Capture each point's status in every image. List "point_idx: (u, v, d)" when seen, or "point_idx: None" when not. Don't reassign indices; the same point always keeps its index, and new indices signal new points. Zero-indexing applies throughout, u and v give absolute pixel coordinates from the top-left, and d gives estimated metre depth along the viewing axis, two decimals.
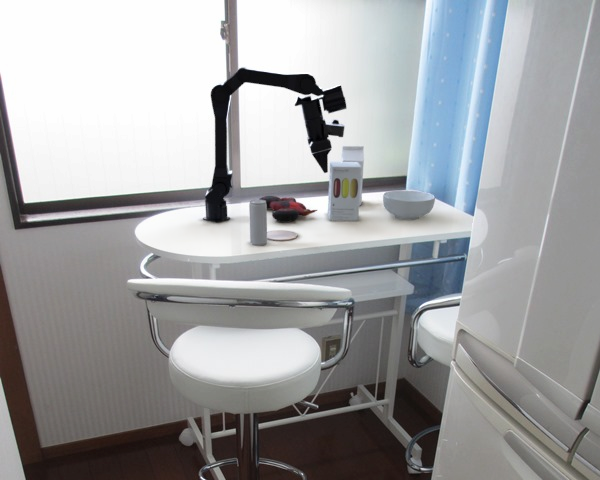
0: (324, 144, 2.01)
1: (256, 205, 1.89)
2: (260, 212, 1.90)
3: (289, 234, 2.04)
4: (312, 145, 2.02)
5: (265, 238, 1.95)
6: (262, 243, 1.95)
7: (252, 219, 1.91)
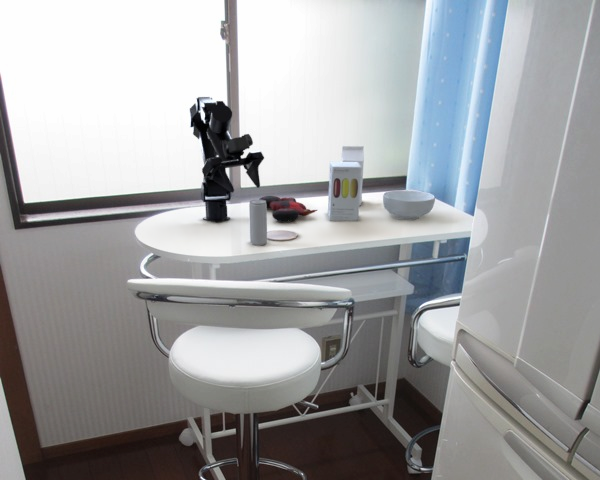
0: (207, 164, 1.90)
1: (256, 205, 1.89)
2: (260, 212, 1.90)
3: (289, 234, 2.04)
4: None
5: (265, 238, 1.95)
6: (262, 243, 1.95)
7: (252, 219, 1.91)
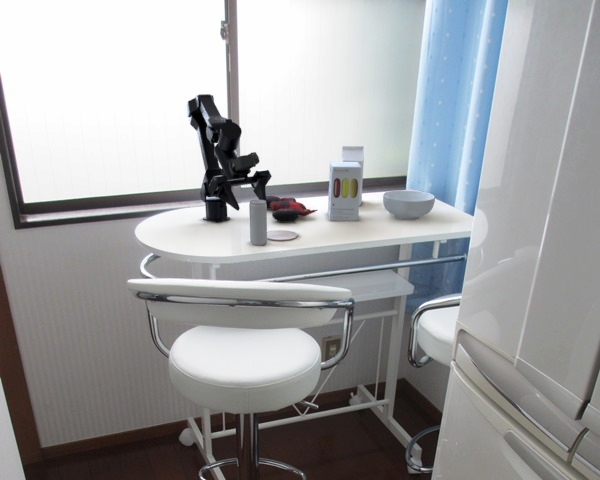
0: (212, 182, 1.89)
1: (256, 205, 1.89)
2: (260, 212, 1.90)
3: (289, 234, 2.04)
4: None
5: (265, 238, 1.95)
6: (262, 243, 1.95)
7: (252, 219, 1.91)
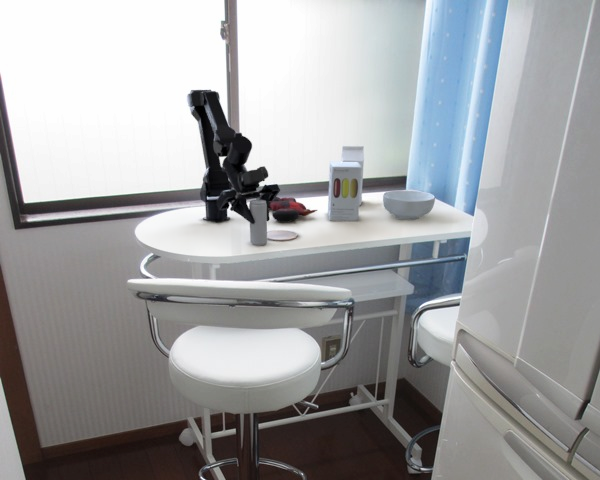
0: (221, 196, 1.88)
1: (256, 205, 1.89)
2: (260, 212, 1.90)
3: (289, 234, 2.04)
4: None
5: (265, 238, 1.95)
6: (262, 243, 1.95)
7: None
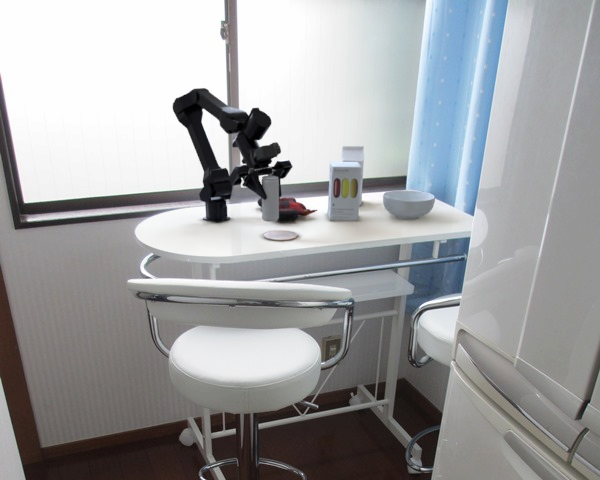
0: (234, 171, 1.89)
1: (268, 181, 1.91)
2: (272, 188, 1.91)
3: (289, 234, 2.04)
4: None
5: (277, 214, 1.96)
6: (274, 219, 1.96)
7: None
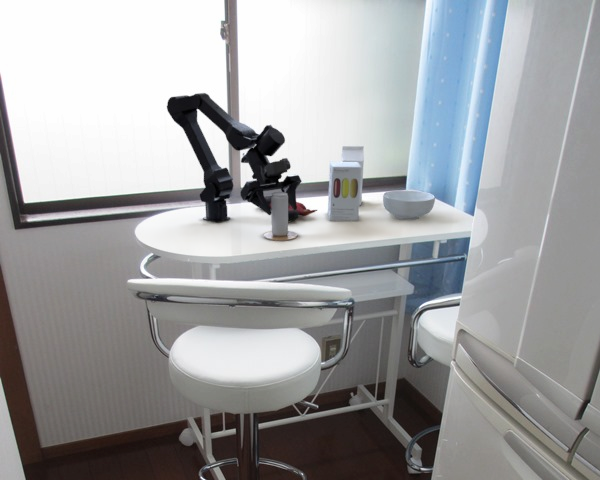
0: (245, 187, 1.94)
1: (278, 197, 1.96)
2: (282, 204, 1.97)
3: (289, 234, 2.04)
4: None
5: (286, 229, 2.02)
6: (283, 234, 2.02)
7: (274, 210, 1.98)
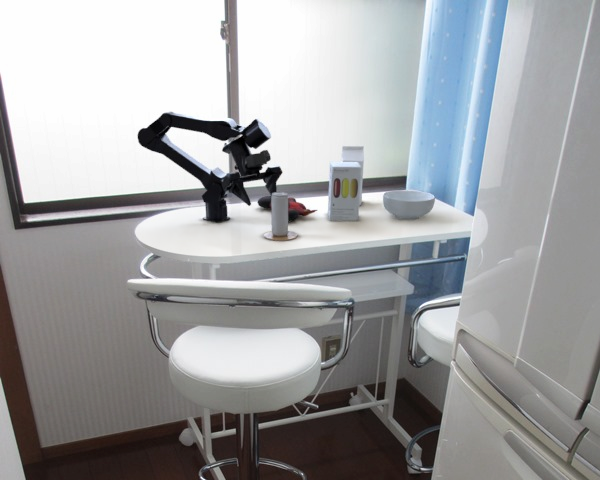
0: (225, 178, 2.01)
1: (278, 197, 1.96)
2: (282, 204, 1.97)
3: (289, 234, 2.04)
4: None
5: (286, 229, 2.02)
6: (283, 234, 2.02)
7: (274, 210, 1.98)
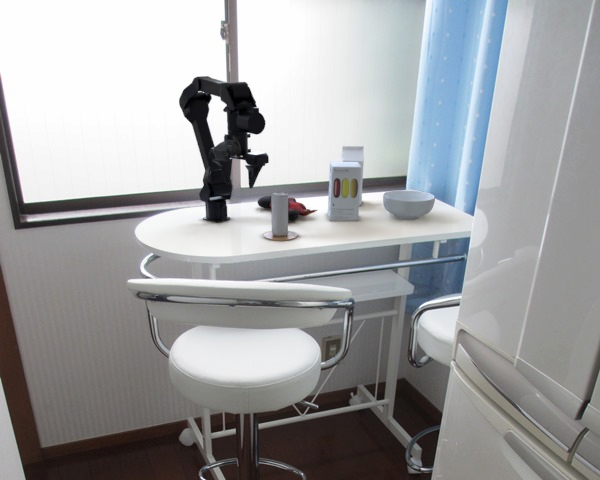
0: None
1: (278, 197, 1.96)
2: (282, 204, 1.97)
3: (289, 234, 2.04)
4: None
5: (286, 229, 2.02)
6: (283, 234, 2.02)
7: (274, 210, 1.98)
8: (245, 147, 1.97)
